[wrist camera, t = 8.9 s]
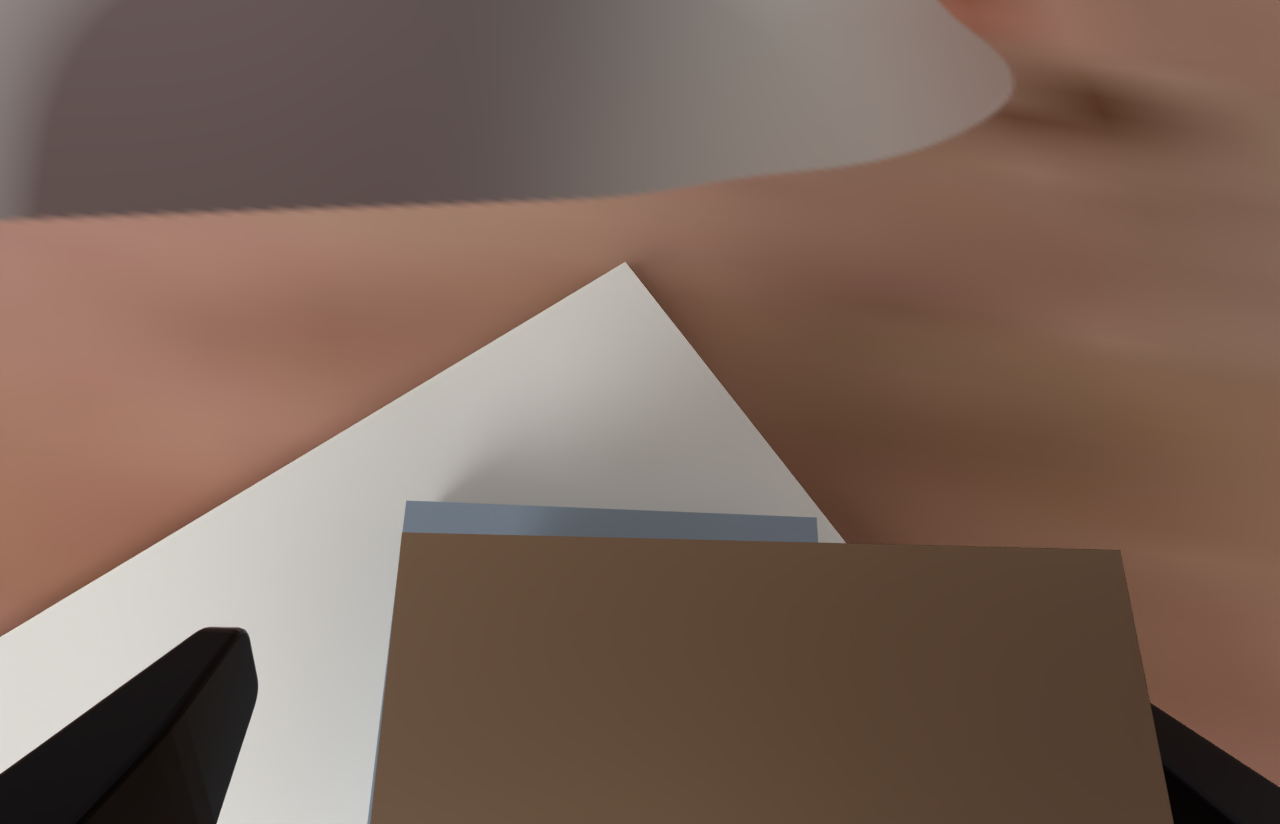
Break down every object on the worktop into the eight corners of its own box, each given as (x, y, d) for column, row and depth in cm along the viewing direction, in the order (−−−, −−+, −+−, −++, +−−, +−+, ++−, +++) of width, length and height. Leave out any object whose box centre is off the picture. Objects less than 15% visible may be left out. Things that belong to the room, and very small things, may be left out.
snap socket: (800, 944, 13) (844, 996, 11) (373, 961, 12) (342, 1022, 10) (782, 530, 16) (816, 517, 14) (423, 517, 14) (406, 499, 13)
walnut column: (715, 839, 13) (1317, 1551, 3) (485, 847, 13) (267, 1754, 3) (710, 604, 15) (1120, 549, 4) (501, 602, 14) (402, 531, 4)
